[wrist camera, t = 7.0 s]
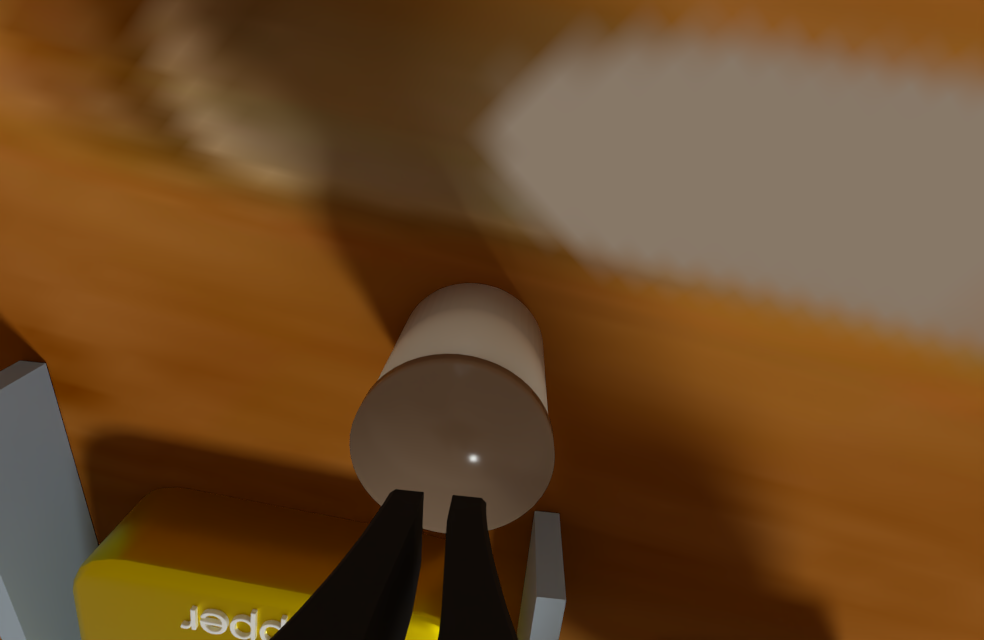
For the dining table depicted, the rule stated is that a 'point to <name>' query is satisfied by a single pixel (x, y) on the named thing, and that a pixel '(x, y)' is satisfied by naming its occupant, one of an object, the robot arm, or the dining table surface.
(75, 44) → the dining table surface
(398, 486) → the jar
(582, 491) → the dining table surface
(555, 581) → the gray tray
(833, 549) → the dining table surface
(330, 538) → the element tile
